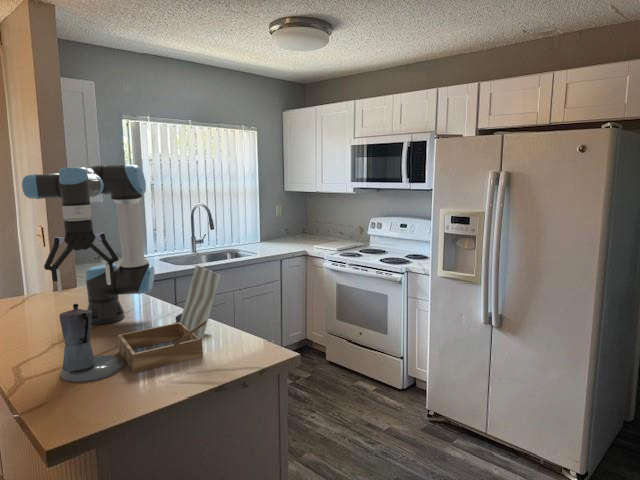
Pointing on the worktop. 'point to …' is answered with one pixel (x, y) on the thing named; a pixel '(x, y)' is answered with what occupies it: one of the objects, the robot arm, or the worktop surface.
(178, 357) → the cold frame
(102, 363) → the disc
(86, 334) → the moka pot
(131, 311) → the worktop surface
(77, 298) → the worktop surface
